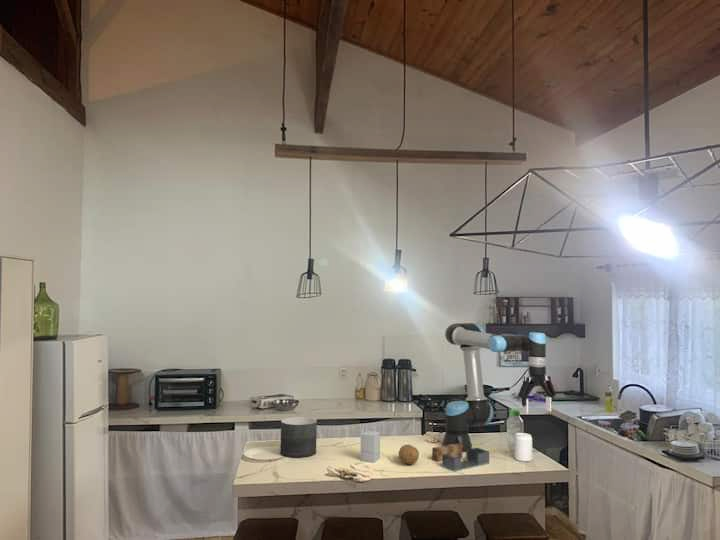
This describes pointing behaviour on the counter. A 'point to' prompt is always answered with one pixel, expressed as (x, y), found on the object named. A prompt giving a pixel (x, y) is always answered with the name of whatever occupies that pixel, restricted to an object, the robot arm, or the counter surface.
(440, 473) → the counter surface
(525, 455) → the beverage can
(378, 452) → the supplement box
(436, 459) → the slat
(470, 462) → the grey notched block
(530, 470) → the counter surface
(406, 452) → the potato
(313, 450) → the planter
